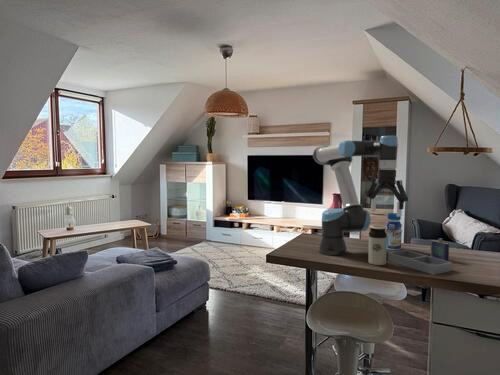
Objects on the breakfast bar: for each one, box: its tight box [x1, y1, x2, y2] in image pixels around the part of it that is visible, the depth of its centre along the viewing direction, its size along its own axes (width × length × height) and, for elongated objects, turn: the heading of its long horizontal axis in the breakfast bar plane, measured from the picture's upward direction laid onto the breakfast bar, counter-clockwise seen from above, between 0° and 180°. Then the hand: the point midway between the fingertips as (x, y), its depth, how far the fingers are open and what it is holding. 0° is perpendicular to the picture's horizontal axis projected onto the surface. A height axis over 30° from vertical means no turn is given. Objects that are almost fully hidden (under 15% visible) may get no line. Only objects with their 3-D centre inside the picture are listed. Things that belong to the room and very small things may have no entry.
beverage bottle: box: [385, 212, 403, 251], centre depth 186 cm, size 8×8×20 cm
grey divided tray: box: [387, 249, 453, 276], centre depth 156 cm, size 24×13×4 cm, turn 25°
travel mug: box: [367, 224, 387, 266], centre depth 159 cm, size 8×8×18 cm
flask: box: [430, 238, 450, 262], centre depth 165 cm, size 9×3×11 cm, turn 24°
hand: (385, 214), depth 156 cm, fingers open, 13 cm apart
